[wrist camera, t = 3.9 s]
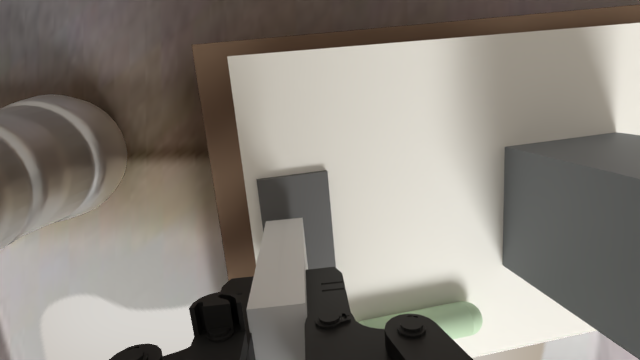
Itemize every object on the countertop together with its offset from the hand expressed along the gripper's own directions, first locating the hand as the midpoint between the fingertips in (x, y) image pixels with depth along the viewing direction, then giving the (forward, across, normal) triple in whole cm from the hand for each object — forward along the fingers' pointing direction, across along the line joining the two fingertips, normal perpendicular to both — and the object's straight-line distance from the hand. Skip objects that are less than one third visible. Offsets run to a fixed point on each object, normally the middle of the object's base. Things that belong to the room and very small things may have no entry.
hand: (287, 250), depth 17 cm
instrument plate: (+4, -10, 0) cm, 11 cm away
